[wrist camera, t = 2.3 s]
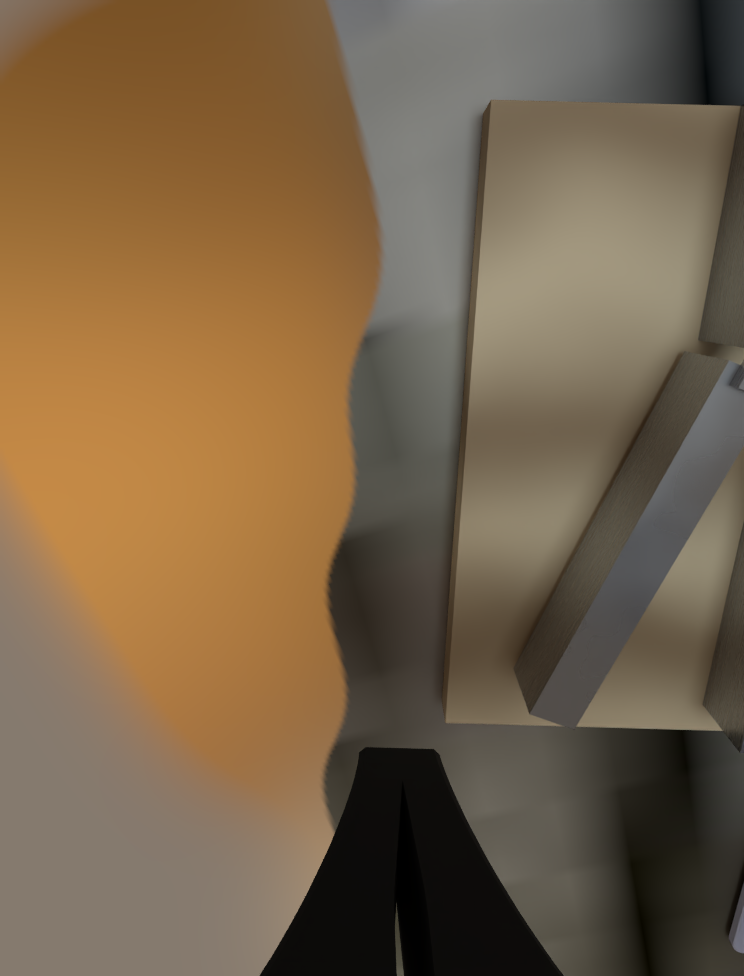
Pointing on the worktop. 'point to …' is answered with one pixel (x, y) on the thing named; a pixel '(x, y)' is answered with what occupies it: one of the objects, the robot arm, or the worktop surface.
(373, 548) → the worktop surface
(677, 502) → the bar
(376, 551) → the worktop surface
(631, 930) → the worktop surface
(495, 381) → the board
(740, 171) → the tongs body
